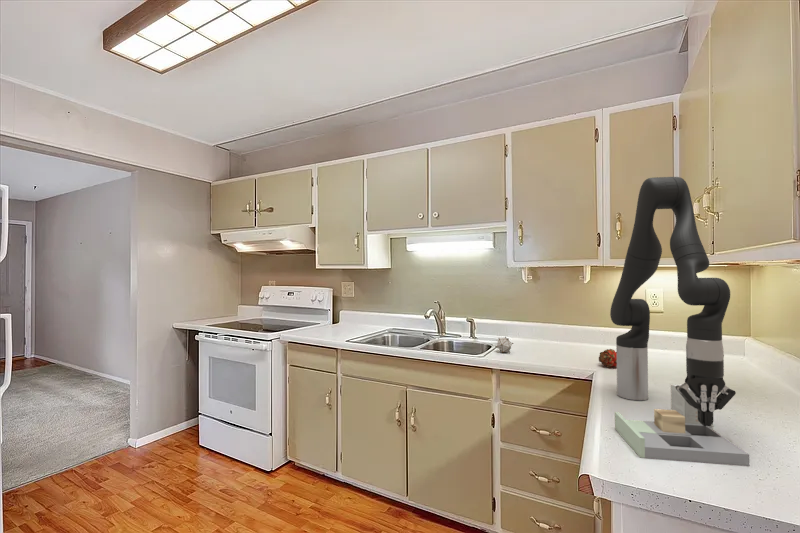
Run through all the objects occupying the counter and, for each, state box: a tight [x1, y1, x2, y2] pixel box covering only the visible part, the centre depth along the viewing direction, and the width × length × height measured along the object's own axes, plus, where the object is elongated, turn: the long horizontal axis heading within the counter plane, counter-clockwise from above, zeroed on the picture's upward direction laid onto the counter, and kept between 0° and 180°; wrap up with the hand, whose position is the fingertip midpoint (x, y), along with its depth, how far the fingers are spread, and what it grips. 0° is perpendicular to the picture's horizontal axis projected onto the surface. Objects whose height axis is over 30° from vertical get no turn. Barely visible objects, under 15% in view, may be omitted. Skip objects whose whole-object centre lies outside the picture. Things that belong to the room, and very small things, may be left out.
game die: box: [494, 336, 514, 354], centre depth 206 cm, size 9×8×10 cm
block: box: [653, 408, 685, 433], centre depth 101 cm, size 5×5×4 cm
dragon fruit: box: [598, 348, 617, 369], centre depth 175 cm, size 8×8×12 cm
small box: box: [670, 383, 714, 428], centre depth 111 cm, size 8×6×10 cm
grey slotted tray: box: [614, 411, 750, 467], centre depth 98 cm, size 17×22×4 cm
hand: (705, 424), depth 100 cm, fingers closed
